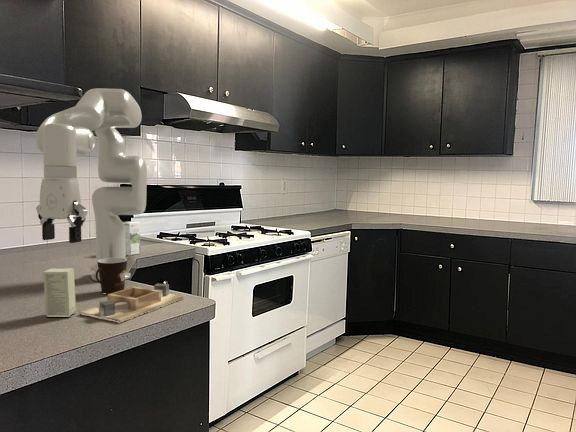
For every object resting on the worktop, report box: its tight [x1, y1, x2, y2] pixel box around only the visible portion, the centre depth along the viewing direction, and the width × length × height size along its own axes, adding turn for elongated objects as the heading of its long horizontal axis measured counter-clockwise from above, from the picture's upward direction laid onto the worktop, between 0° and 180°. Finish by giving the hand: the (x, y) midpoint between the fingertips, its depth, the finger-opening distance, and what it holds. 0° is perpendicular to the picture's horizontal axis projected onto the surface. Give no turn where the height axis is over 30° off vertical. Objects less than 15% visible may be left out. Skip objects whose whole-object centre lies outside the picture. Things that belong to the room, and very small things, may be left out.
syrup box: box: [122, 220, 141, 257], centre depth 208 cm, size 6×6×14 cm
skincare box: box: [42, 267, 77, 316], centre depth 122 cm, size 6×4×12 cm
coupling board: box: [79, 283, 184, 322], centre depth 131 cm, size 14×25×4 cm, turn 155°
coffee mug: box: [96, 258, 128, 294], centre depth 144 cm, size 12×9×10 cm
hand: (61, 240), depth 121 cm, fingers open, 9 cm apart
